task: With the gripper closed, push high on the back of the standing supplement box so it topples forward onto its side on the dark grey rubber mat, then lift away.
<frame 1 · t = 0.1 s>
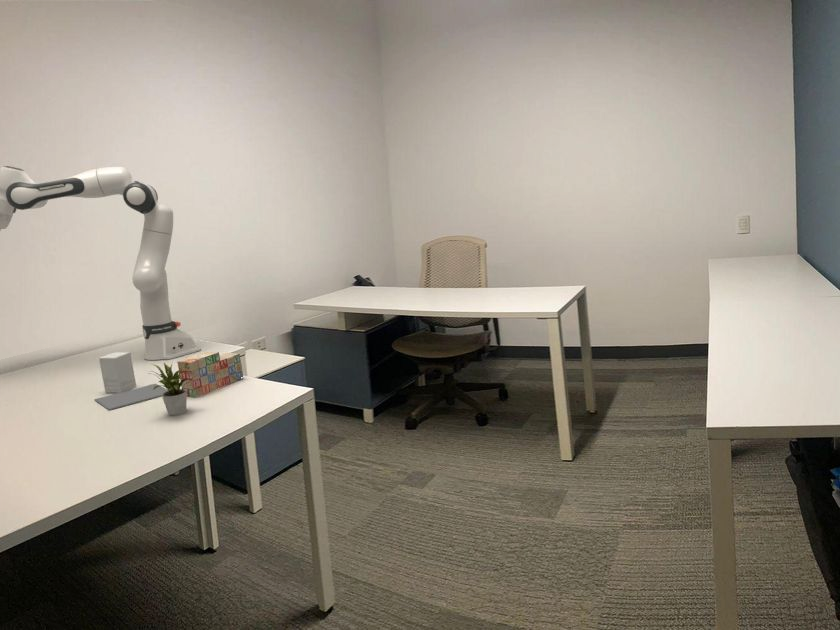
stack of blocks: (214, 387, 210), on the table
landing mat: (133, 397, 206), on the table
house plant: (172, 413, 187), on the table
supplement box: (121, 390, 216), on the table
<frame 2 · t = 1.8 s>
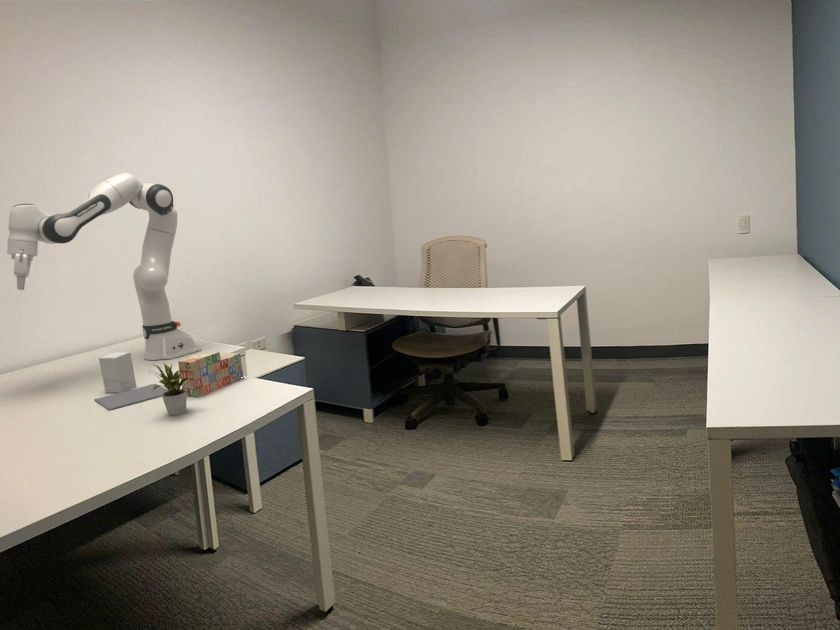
hand: (20, 289, 215), 37 cm above the table, tool pointing down, fingers open, 8 cm apart
nothing on the table moved.
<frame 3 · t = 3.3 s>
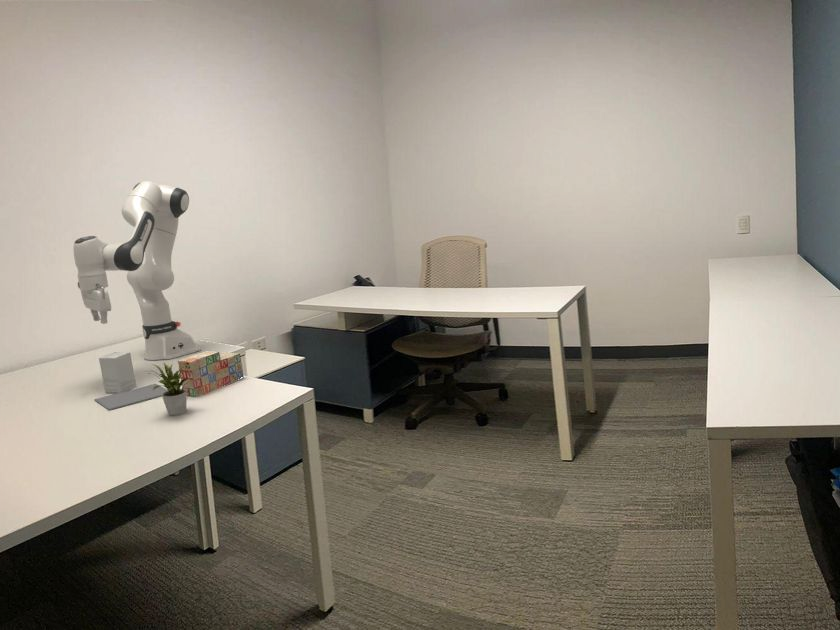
hand: (100, 322, 218), 23 cm above the table, tool pointing down, fingers open, 8 cm apart
nothing on the table moved.
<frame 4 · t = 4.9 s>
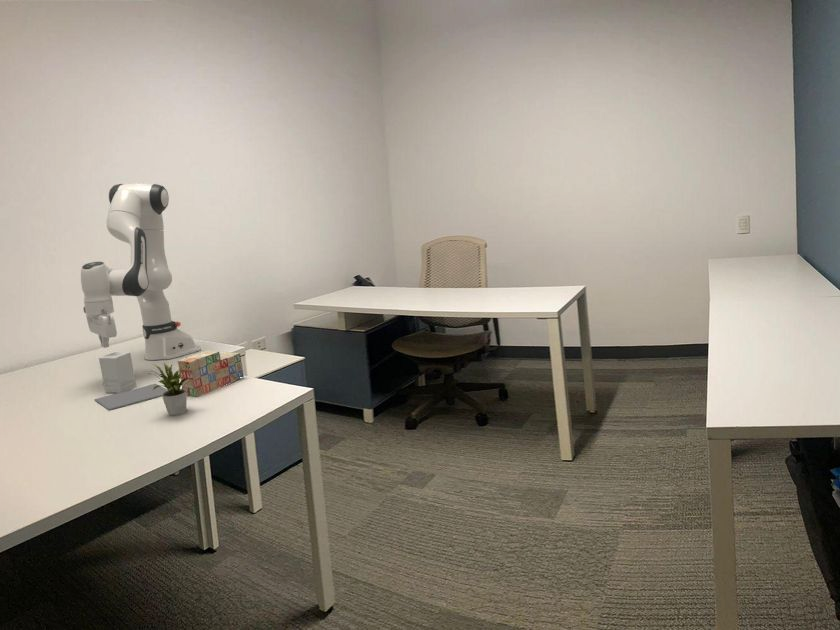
hand: (105, 347, 219), 14 cm above the table, tool pointing down, fingers closed
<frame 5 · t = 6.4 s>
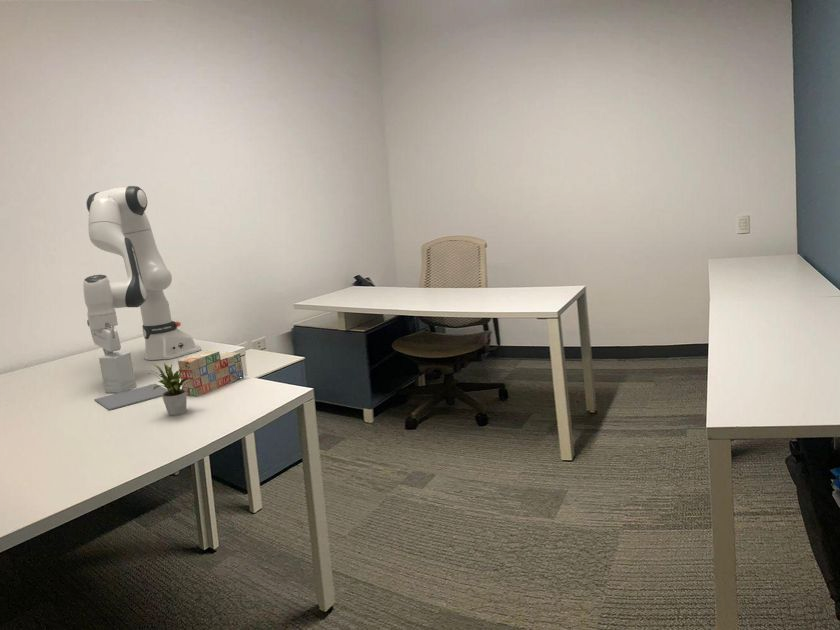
hand: (109, 360, 218), 10 cm above the table, tool pointing down, fingers closed
supplement box: (121, 390, 216), on the table, touching gripper
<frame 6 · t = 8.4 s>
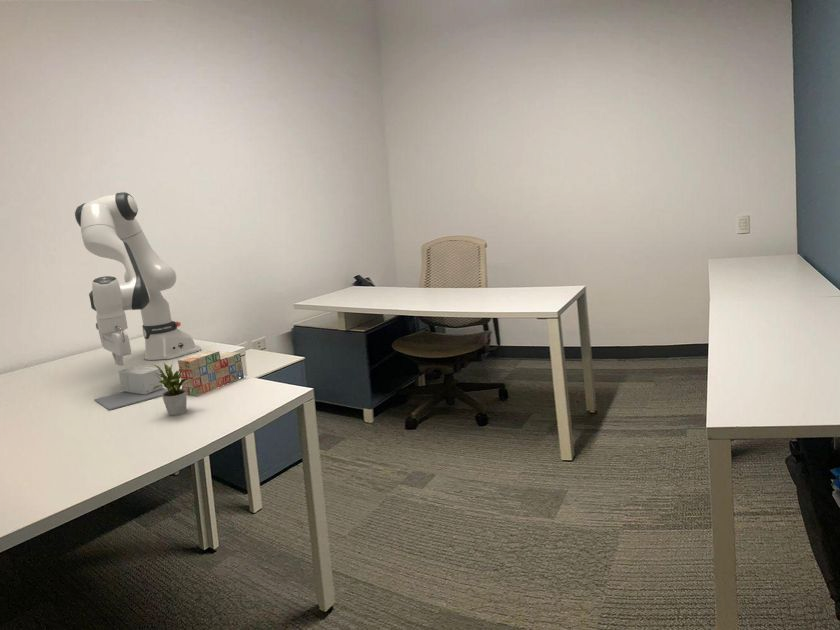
hand: (119, 364, 210), 10 cm above the table, tool pointing down, fingers closed
supplement box: (128, 378, 214), point 4 cm above the table, touching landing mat
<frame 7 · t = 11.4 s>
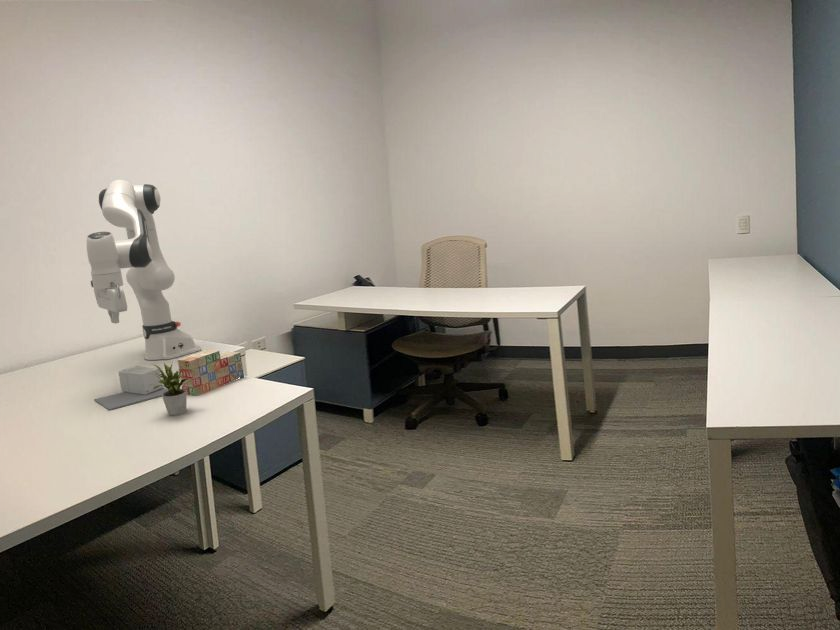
hand: (115, 322, 206), 25 cm above the table, tool pointing down, fingers closed
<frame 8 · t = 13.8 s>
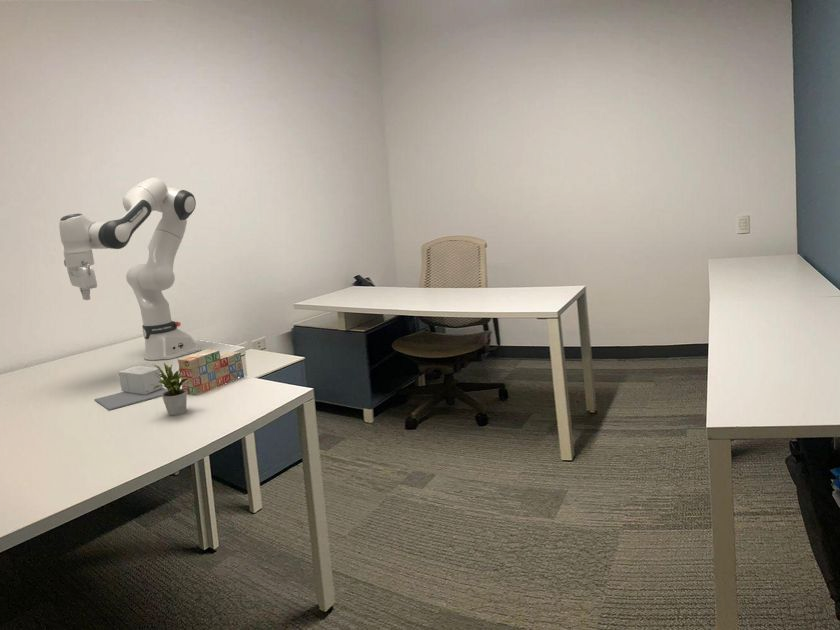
hand: (86, 299, 219), 31 cm above the table, tool pointing down, fingers closed
at the end: supplement box tilted 90°; supplement box inside the target area (6.5 cm from its centre), point 4.2 cm above the table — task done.
